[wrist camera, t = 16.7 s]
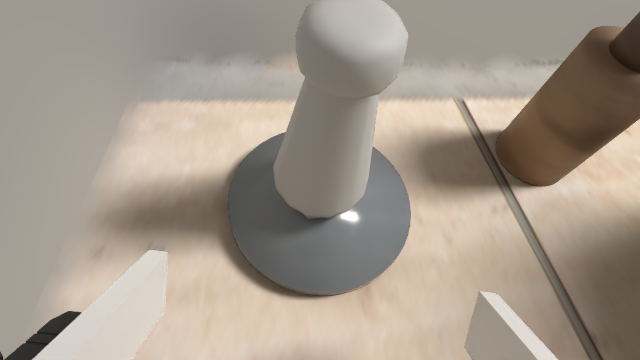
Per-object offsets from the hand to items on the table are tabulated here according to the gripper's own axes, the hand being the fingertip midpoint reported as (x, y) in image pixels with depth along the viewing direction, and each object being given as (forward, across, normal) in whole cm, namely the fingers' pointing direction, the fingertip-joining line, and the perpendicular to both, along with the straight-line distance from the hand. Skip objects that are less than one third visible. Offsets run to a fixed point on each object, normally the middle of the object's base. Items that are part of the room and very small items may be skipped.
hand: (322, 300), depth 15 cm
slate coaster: (+10, 0, +1) cm, 10 cm away
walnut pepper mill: (+15, +16, +6) cm, 23 cm away
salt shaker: (+10, 0, +2) cm, 10 cm away
